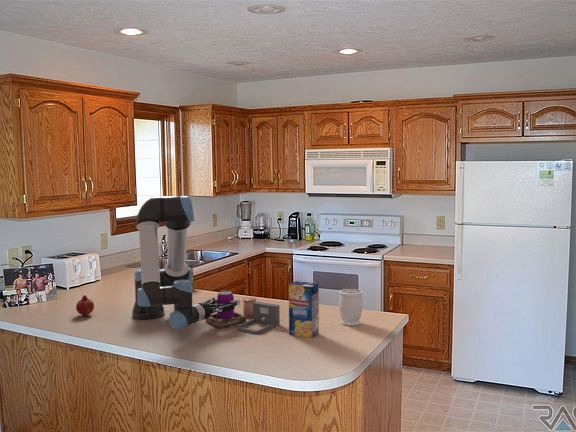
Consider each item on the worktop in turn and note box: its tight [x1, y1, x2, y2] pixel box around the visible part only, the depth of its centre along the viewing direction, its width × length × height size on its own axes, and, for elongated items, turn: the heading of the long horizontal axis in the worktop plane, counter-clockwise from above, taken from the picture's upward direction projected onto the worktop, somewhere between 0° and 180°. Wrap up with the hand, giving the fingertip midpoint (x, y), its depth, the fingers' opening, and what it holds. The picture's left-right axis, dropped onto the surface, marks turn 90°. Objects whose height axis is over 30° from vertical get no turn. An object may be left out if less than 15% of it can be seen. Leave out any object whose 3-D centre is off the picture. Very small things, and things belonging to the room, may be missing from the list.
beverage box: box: [288, 280, 320, 339], centre depth 229 cm, size 7×11×22 cm, turn 61°
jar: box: [338, 288, 364, 327], centre depth 244 cm, size 11×10×15 cm
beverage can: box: [216, 290, 235, 320], centre depth 247 cm, size 8×8×12 cm
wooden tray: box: [205, 310, 247, 329], centre depth 248 cm, size 13×14×3 cm
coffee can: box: [186, 262, 194, 289], centre depth 316 cm, size 10×10×14 cm
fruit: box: [75, 295, 95, 317], centre depth 260 cm, size 8×8×10 cm
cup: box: [242, 297, 257, 319], centre depth 257 cm, size 6×6×8 cm
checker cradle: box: [236, 301, 281, 335], centre depth 240 cm, size 12×16×9 cm
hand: (231, 300), depth 251 cm, fingers closed on beverage can, 8 cm apart
